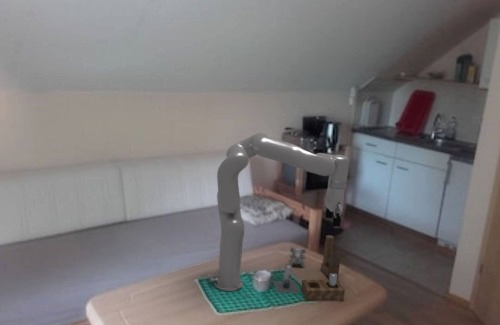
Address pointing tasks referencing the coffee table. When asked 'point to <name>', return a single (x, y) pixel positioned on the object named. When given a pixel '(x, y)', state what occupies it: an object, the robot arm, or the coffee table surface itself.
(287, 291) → the mat
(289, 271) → the peg
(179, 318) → the coffee table surface
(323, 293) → the hole block
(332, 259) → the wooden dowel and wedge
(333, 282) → the seated peg
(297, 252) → the gray elephant figurine
